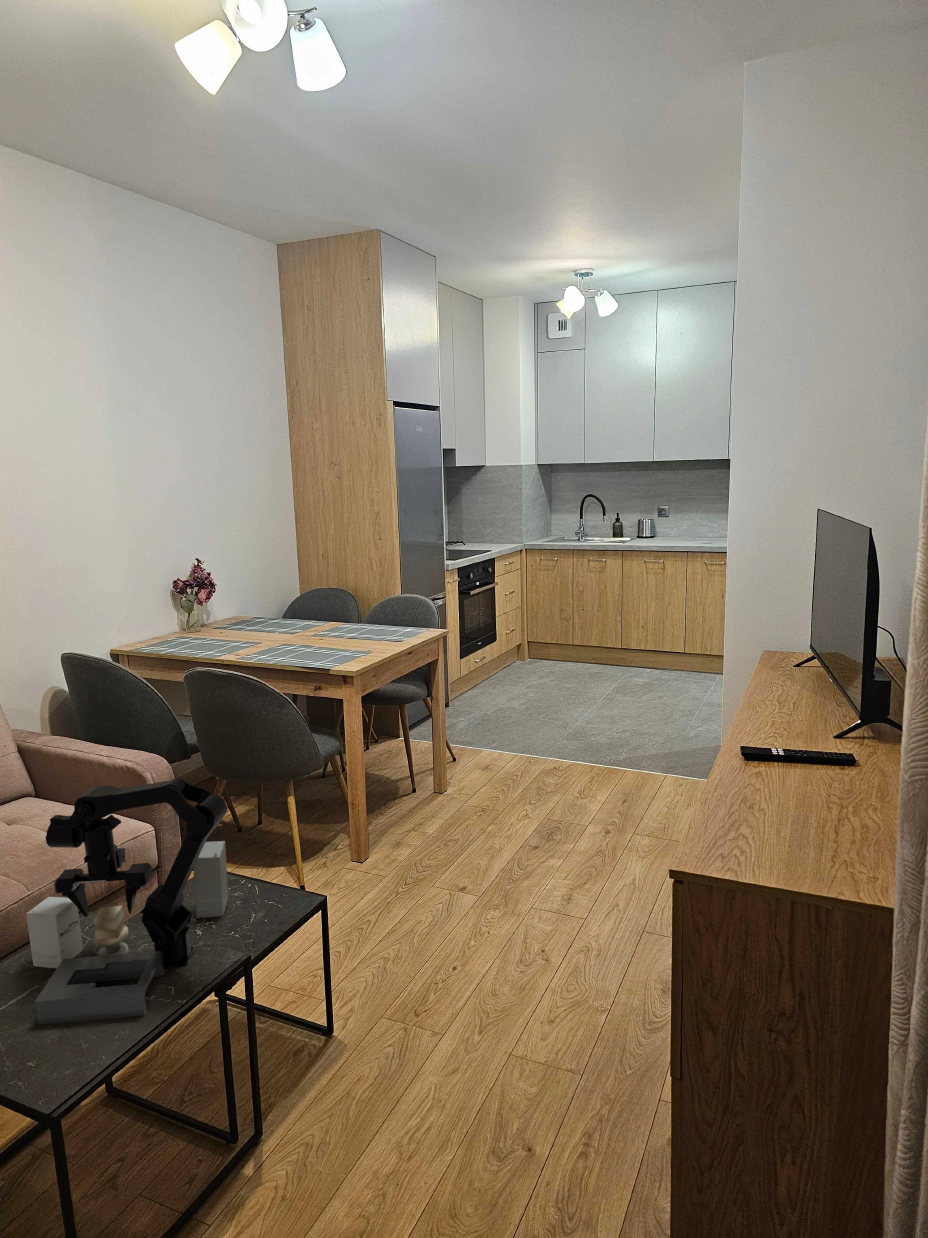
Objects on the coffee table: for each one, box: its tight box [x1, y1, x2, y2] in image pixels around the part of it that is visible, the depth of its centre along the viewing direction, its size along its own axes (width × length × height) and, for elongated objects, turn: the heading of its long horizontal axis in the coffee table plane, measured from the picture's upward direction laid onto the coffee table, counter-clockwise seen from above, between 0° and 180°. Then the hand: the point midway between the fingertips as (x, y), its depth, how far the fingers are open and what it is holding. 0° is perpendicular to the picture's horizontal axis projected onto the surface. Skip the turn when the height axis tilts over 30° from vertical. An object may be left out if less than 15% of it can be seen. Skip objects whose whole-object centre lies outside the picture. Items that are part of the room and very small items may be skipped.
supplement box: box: [25, 896, 84, 969], centre depth 180 cm, size 7×7×13 cm
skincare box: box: [192, 840, 229, 919], centre depth 197 cm, size 8×7×16 cm
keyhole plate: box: [34, 950, 165, 1026], centre depth 166 cm, size 20×14×5 cm
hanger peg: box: [92, 905, 130, 956], centre depth 180 cm, size 7×7×10 cm
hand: (108, 914), depth 179 cm, fingers open, 9 cm apart
